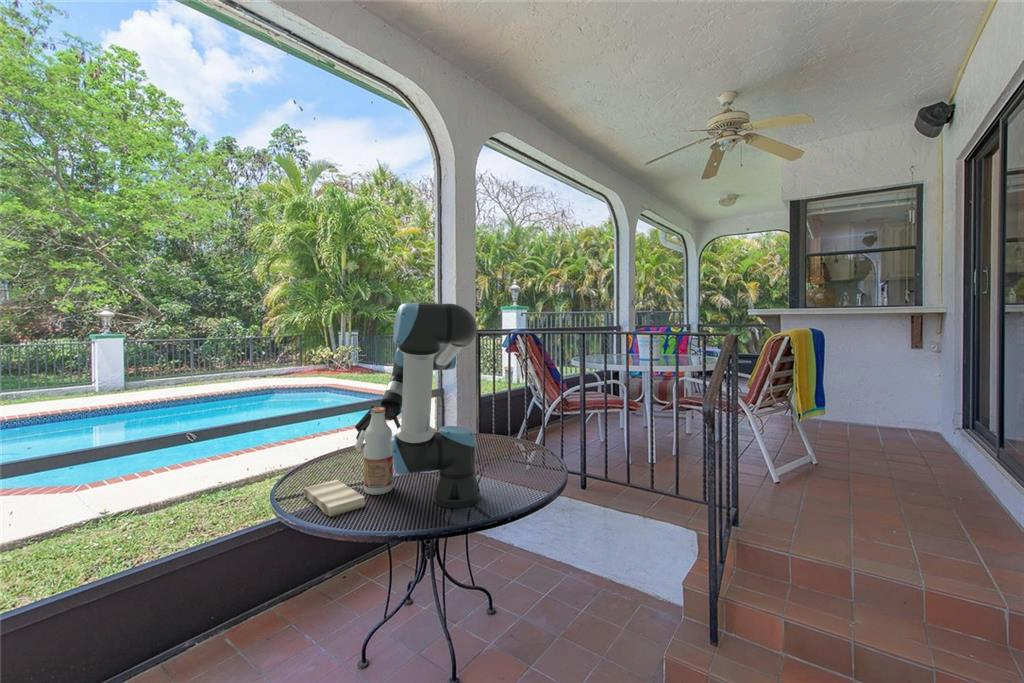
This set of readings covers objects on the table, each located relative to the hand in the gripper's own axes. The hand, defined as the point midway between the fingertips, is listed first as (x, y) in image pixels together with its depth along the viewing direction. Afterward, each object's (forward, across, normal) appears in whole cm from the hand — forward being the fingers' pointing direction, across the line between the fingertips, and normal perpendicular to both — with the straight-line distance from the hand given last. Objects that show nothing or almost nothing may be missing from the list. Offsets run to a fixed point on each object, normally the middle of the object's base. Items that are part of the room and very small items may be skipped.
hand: (374, 450), depth 149 cm
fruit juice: (+9, 0, -12) cm, 15 cm away
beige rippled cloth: (+17, +9, -4) cm, 19 cm away
